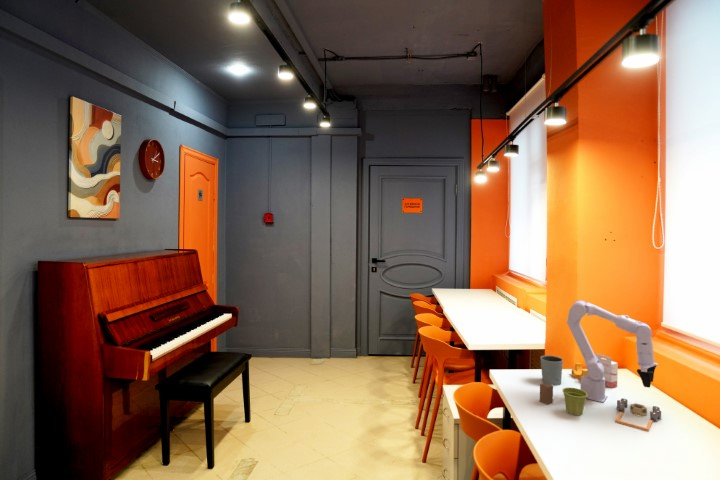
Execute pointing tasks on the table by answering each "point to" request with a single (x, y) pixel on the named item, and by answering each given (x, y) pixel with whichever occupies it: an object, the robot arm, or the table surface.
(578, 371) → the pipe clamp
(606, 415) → the table surface
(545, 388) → the wooden block
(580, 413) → the plant pot
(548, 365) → the grey bucket
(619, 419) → the orange bay
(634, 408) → the brass nut
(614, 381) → the ink cartridge box
